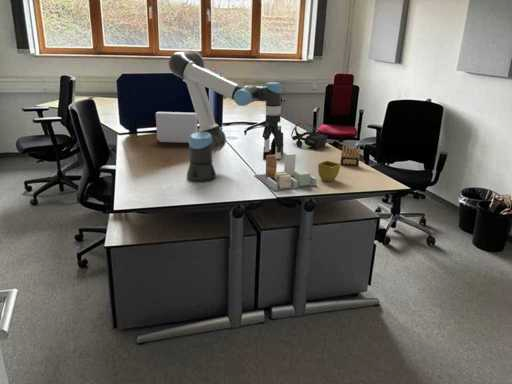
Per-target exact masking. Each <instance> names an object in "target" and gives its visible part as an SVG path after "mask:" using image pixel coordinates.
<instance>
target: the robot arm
mask: <svg viewBox="0 0 512 384" xmlns="http://www.w3.org/2000/svg"><path fill="white" fill-rule="evenodd" d="M204 67H205V61H204V58H203V56H202V55H201V54H200V53H199V52H198V51H194V50H185V51H176V52H174V53H173V54H172V55H171V56H170V58H169V59H168V68H169V70H170V71H171V73H172V74H173V75H174V76H177V77H178V78H181V79H182V81H183V82H185V83H186V86H187V90H188V92H189V96H190V99H191V102H192V105H193V110H194V113H196V116H197V124H198V125H199V129H198V133H197V132H196V133H193V134H192V135H190V137H189V143H188V146H189V147H188V148H189V150H188V151H189V164H188V165H189V166H188V170H187V172H186V179H187V180H188V181H190V182H195V183H206V182H211V181H214V180H215V179H216V178H217V176H216V175H217V174H216V173H217V172H216V170H215V167H214V164H213V154H215V153H217V152H220V151H221V150H222V149H223V148H224V147H225V145H226V142H227V136H226V134H225V132H224V130H221V128H220V125H219V124H218V123H216V122H215V118H214V114H213V111H212V107H211V104H210V102H209V98H208V97H209V96H208V94H207V91H206V88H207V89H208V90H211V91H213V92H216V93H217V94H220V95H222V96H224V97H226V98H228V99H231V100H233V101H234V103H235V104H237V105H238V106H241V107H242V106H243V107H245V106H248V105H250V104H252V103H255V102H264V103H265V122H264V128H263V133H262V138H263V140H264V143H263V151H264V152H269V151H270V150H271V143H270V139H271V138H270V137H271V135H272V136H273V138H274V139H275V142H276V145H275V146H276V149H275V158H276V159H278V158H280V159H281V158H282V157H281V156H282V155H281V146H282V145H283V146H284V137H283V138H282V126H281V125H279V124H278V123H280V122H281V119H282V118H281V116H282V115H281V110H282V85H281V84H282V83H280V82H277V81H276V82H275V81H268V82H266V84H265V86H264V85H252V84H251V85H244V86H242V85H240V84H238V83H236V82H234V81H232V80H229V79H227V78H225V77H223V76H221V75H218V74H217V73H214V72H212V71H209V70H208V69H206V68H204Z"/></svg>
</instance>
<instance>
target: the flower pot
mask: <svg viewBox="0 0 512 384" xmlns="http://www.w3.org/2000/svg"><path fill="white" fill-rule="evenodd" d="M341 166H342V165H341V164H340V163H338V162H335V161H330V160H325V161H322V162H319V163H318V164H317V169H318V175H319V178H320V179H321V180H322V181H325V182H332V181H334V180H336V178H337V177H338V174H339V173H340V168H341Z"/></svg>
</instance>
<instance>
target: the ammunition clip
mask: <svg viewBox="0 0 512 384" xmlns="http://www.w3.org/2000/svg"><path fill="white" fill-rule="evenodd" d="M360 149H361V148H360V146H358V148H357V146H355V147H354V146H353V145H352V147H351V145H349V147H348V145H346V146H345V145H342V148H341V153H340V163H339V164H341V165H340V166H344V167H346V166H347V167H357V168H358V167H359V164H360V155H361V154H360V153H361V152H360V151H361V150H360Z"/></svg>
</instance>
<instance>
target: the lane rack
mask: <svg viewBox="0 0 512 384" xmlns="http://www.w3.org/2000/svg"><path fill="white" fill-rule="evenodd" d="M276 173H284V171H280V172H279V171H276ZM254 177H255V178H256V179H257V180H259V181H260V182H261V183H263V185H265V186H266V187H267V188H269V189H270V190H271V191H272V192H282V191H283V192H284V191H289V190H296V189H304V188H311V187H317V186H318V184H317V179H318V178H317V177H315V176H313V175H312V174H311V175H310V185H305V186H298V185H297V184H298V181H297V180H295V179H294V178H292V177H291V187H290V188H282V189H279V188H278V183H276V182H275V180H273V179H272V178H270V177H267V178H266V173H260V174H254ZM274 179H275V178H274Z"/></svg>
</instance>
